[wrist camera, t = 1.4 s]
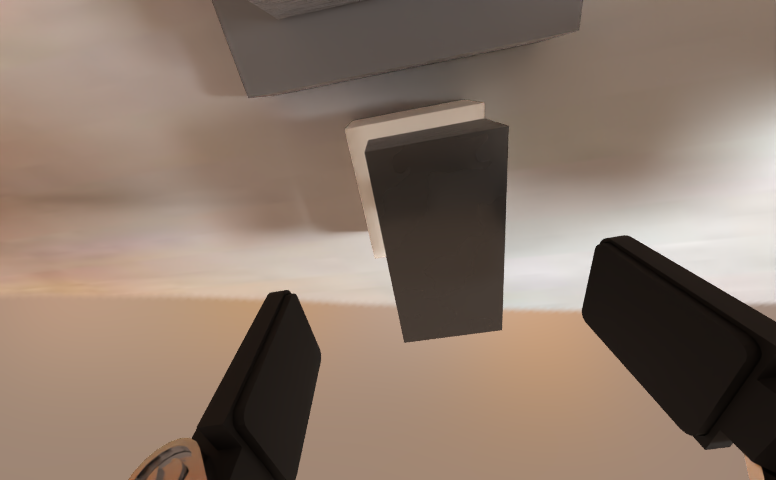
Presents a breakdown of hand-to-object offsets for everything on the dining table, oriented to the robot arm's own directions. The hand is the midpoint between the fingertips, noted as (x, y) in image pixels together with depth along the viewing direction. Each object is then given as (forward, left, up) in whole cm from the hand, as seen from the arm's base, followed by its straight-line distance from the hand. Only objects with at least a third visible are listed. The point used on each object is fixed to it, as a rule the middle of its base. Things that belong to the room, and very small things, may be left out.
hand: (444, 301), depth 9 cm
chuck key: (-1, 0, -14) cm, 14 cm away
